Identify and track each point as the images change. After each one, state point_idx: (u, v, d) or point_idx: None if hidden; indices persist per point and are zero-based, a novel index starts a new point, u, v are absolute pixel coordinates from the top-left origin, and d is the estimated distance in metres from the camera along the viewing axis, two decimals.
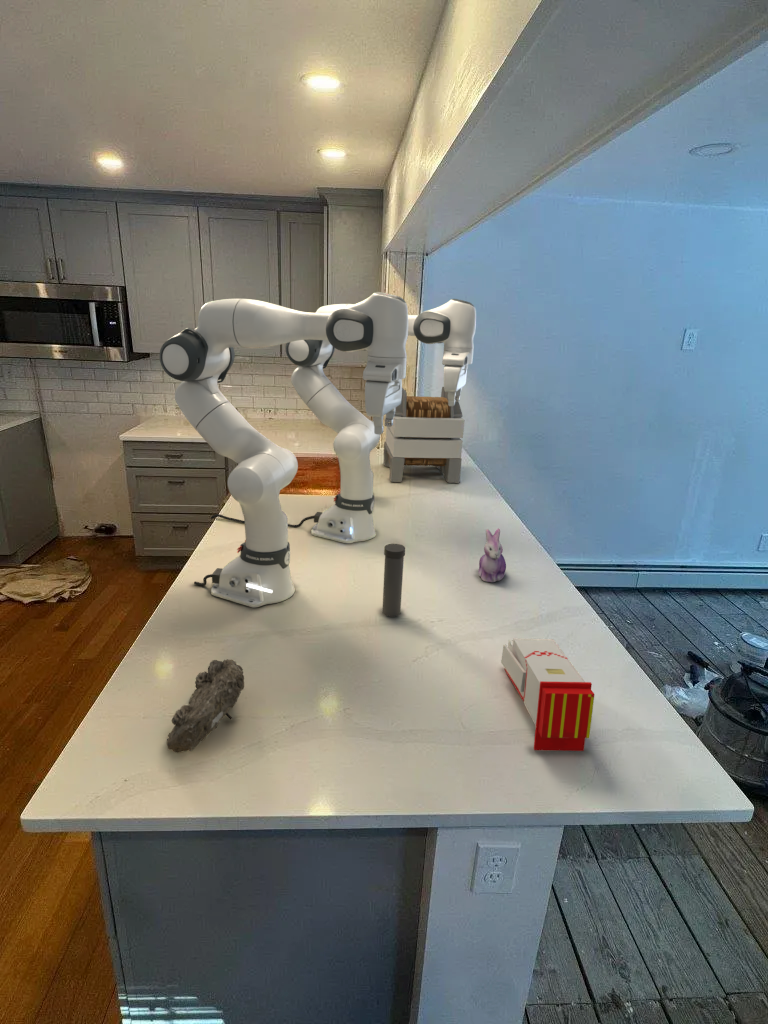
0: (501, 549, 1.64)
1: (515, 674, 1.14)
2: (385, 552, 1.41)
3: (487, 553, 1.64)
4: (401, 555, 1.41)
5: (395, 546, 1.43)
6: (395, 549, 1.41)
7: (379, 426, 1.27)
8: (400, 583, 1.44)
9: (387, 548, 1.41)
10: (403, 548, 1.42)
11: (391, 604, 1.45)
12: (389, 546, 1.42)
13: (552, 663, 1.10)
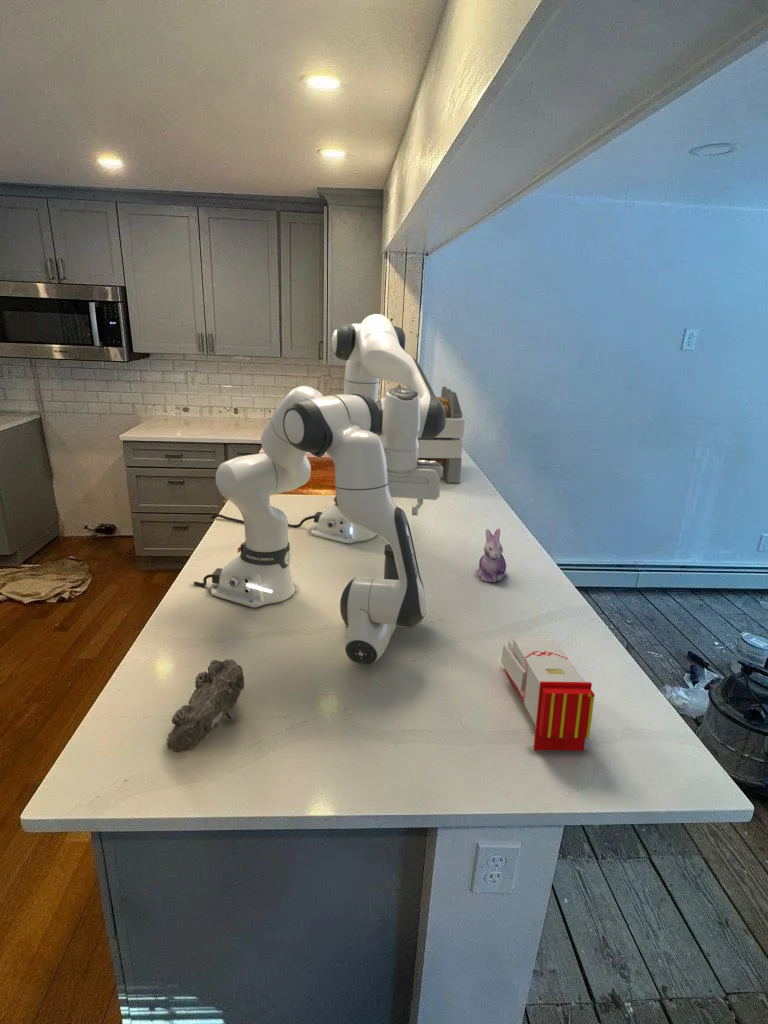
0: (501, 549, 1.64)
1: (515, 674, 1.14)
2: (385, 552, 1.41)
3: (487, 553, 1.64)
4: None
5: None
6: None
7: None
8: None
9: (387, 548, 1.41)
10: None
11: None
12: (390, 546, 1.42)
13: (552, 663, 1.10)
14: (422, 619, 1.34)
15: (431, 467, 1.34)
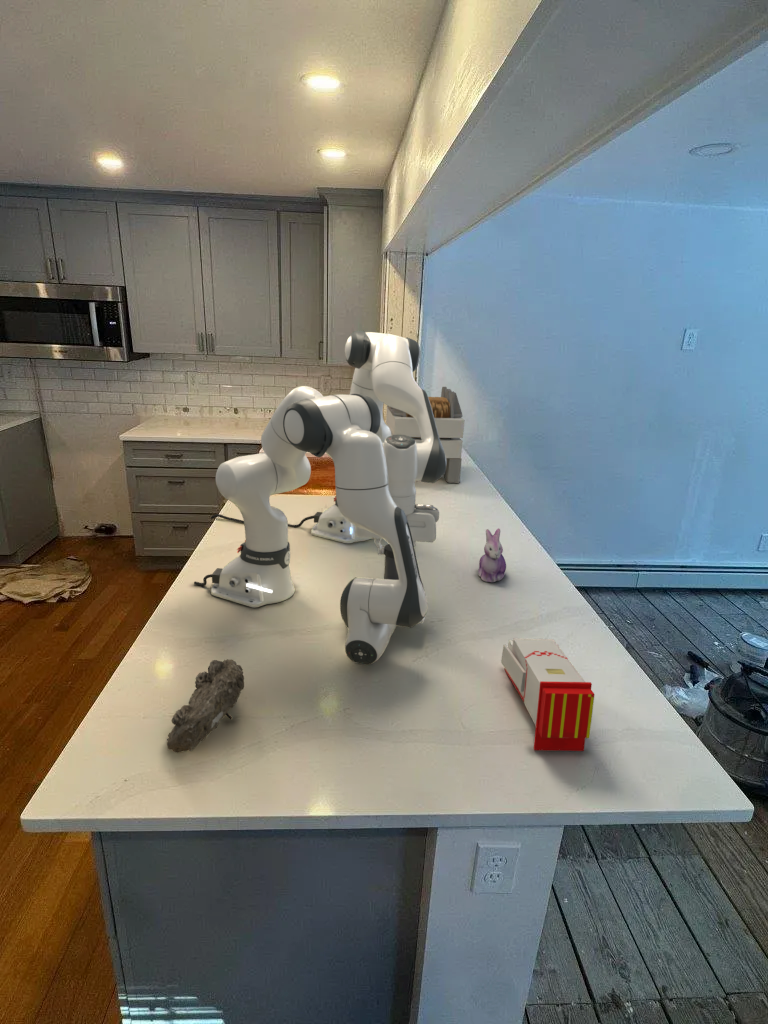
0: (501, 549, 1.64)
1: (515, 674, 1.14)
2: (385, 552, 1.41)
3: (487, 553, 1.64)
4: None
5: None
6: None
7: None
8: None
9: (387, 548, 1.41)
10: None
11: None
12: (390, 546, 1.42)
13: (552, 663, 1.10)
14: (422, 619, 1.34)
15: (428, 511, 1.38)
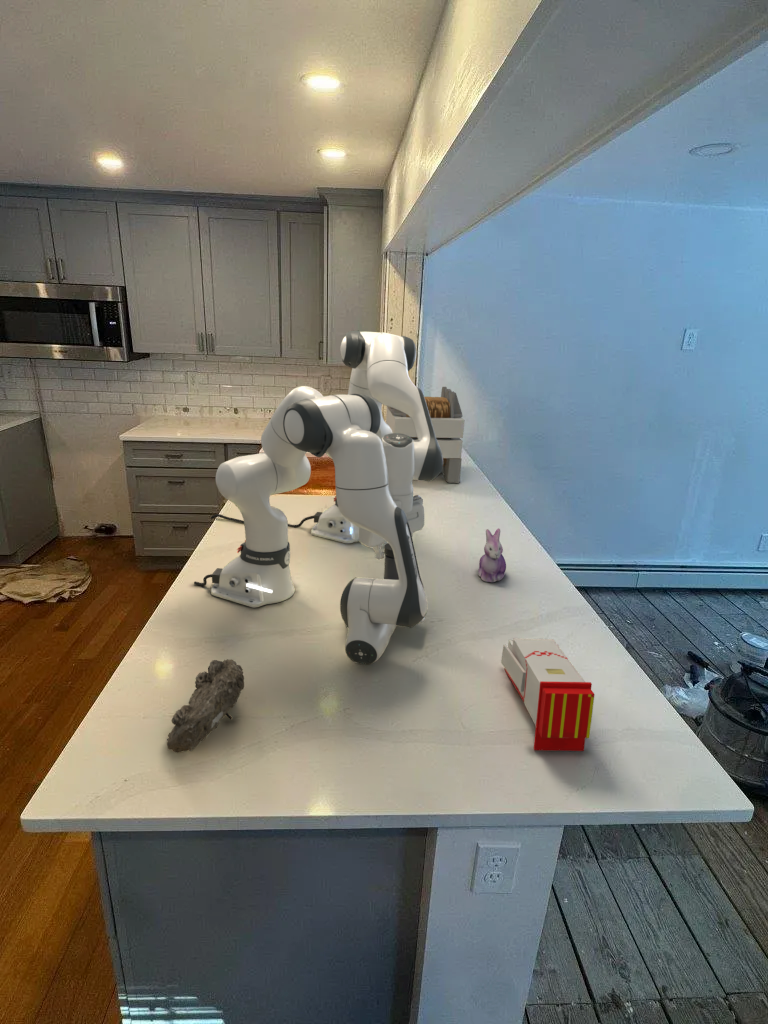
0: (501, 549, 1.64)
1: (515, 674, 1.14)
2: None
3: (487, 553, 1.64)
4: None
5: None
6: None
7: None
8: None
9: None
10: None
11: None
12: None
13: (552, 663, 1.10)
14: (422, 619, 1.34)
15: (416, 501, 1.43)
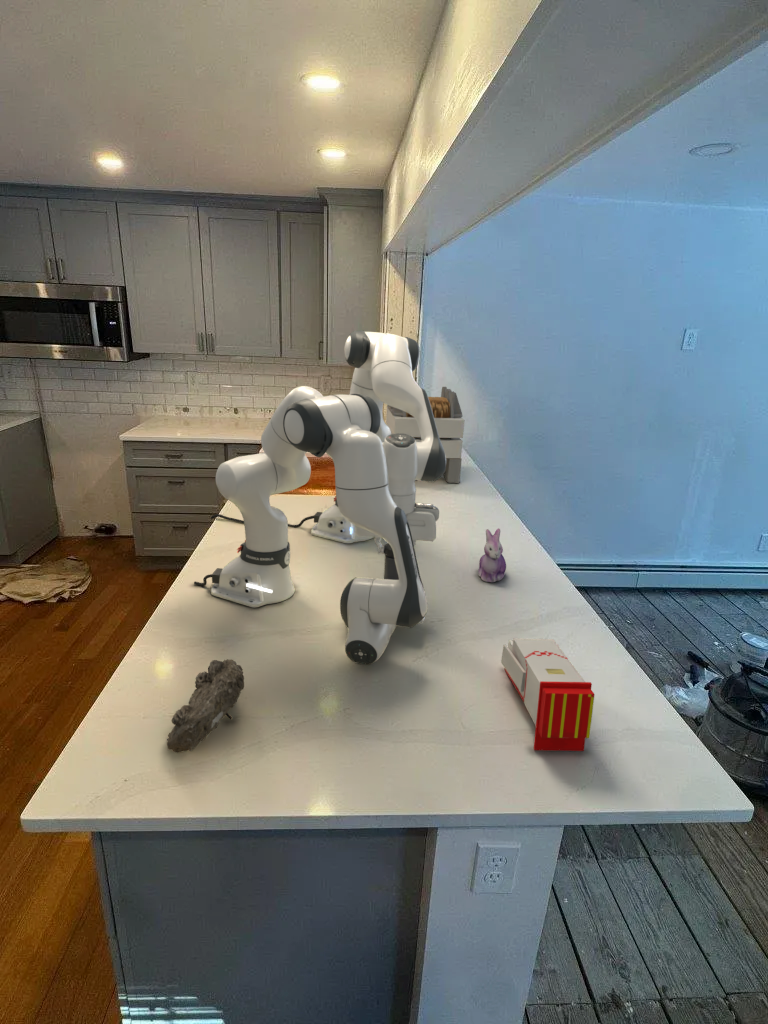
0: (501, 549, 1.64)
1: (515, 674, 1.14)
2: None
3: (487, 553, 1.64)
4: None
5: None
6: None
7: None
8: None
9: None
10: None
11: None
12: None
13: (552, 663, 1.10)
14: (422, 619, 1.34)
15: (428, 510, 1.38)
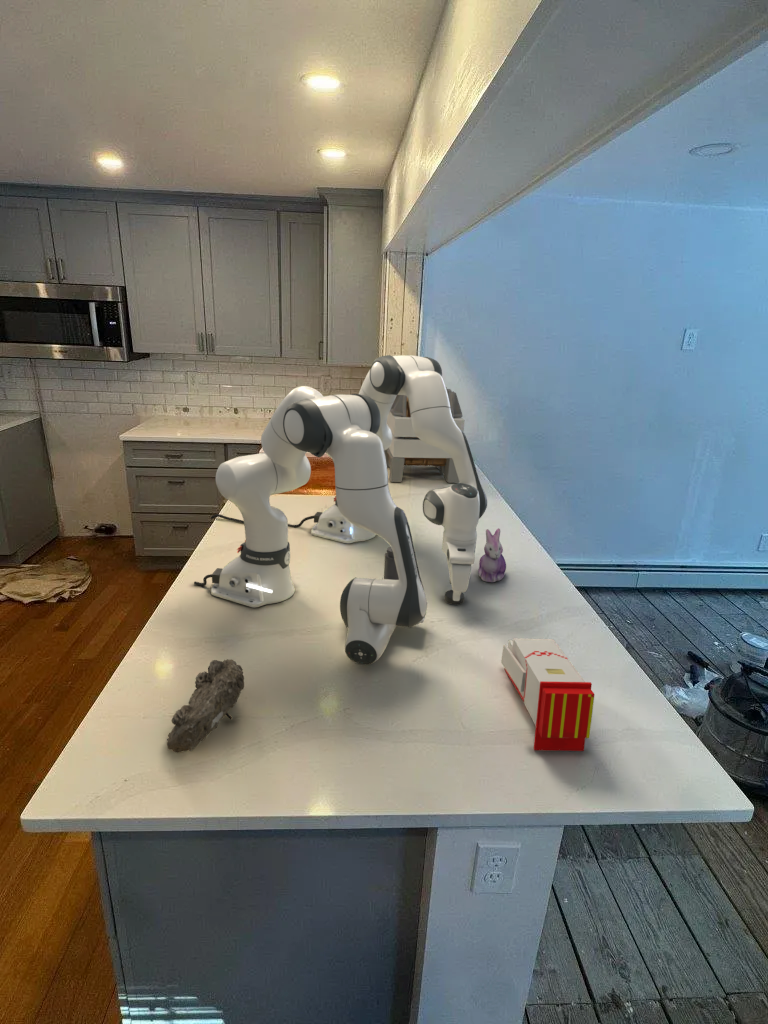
0: (501, 549, 1.64)
1: (515, 674, 1.14)
2: None
3: (487, 553, 1.64)
4: None
5: None
6: None
7: None
8: None
9: None
10: (446, 593, 1.55)
11: None
12: None
13: (552, 663, 1.10)
14: (422, 619, 1.34)
15: None
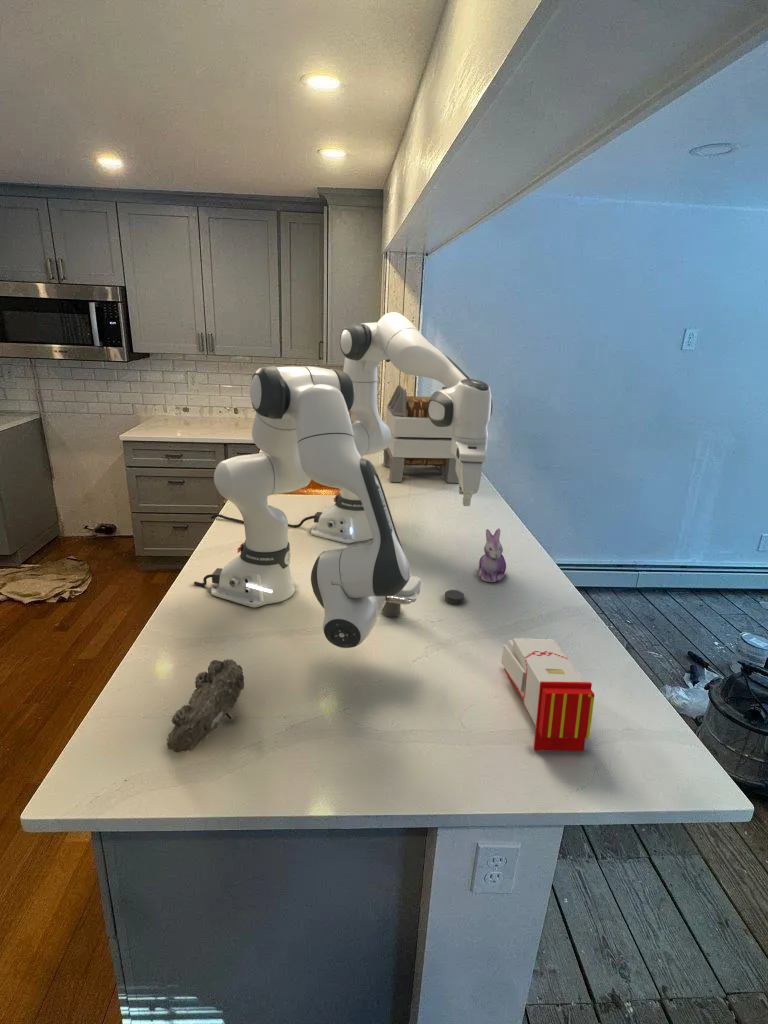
0: (501, 549, 1.64)
1: (515, 674, 1.14)
2: None
3: (487, 553, 1.64)
4: None
5: (454, 595, 1.55)
6: (453, 592, 1.56)
7: None
8: None
9: (460, 592, 1.56)
10: (446, 593, 1.55)
11: (391, 604, 1.45)
12: (459, 595, 1.55)
13: (552, 663, 1.10)
14: (414, 598, 1.17)
15: None
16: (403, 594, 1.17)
